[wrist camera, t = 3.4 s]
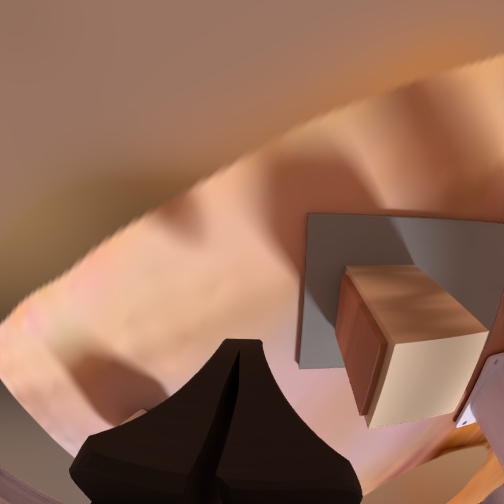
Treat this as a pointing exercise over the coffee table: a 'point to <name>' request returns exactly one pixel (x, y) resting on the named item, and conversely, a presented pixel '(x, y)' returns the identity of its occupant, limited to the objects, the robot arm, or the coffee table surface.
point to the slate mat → (396, 253)
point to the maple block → (404, 343)
